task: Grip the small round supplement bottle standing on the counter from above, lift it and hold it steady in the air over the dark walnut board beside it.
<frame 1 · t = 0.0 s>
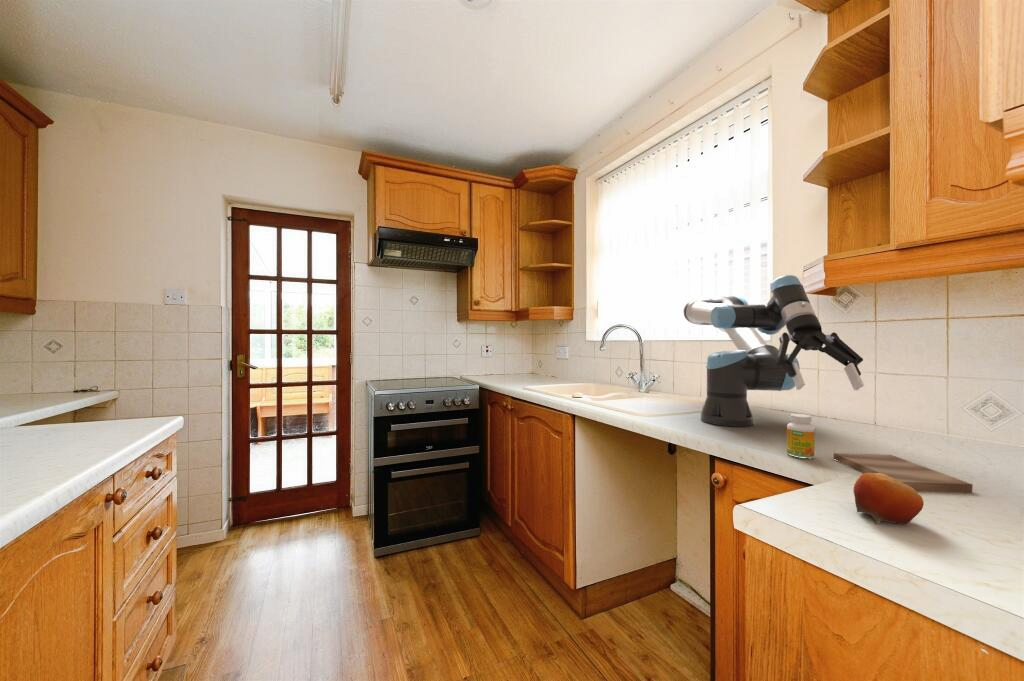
hand: (829, 387, 102), 15 cm above the table, tool tilted 35°, fingers open, 13 cm apart
fruit: (885, 520, 63), on the table
supplement bottle: (800, 456, 95), on the table
walnut board: (894, 474, 83), on the table
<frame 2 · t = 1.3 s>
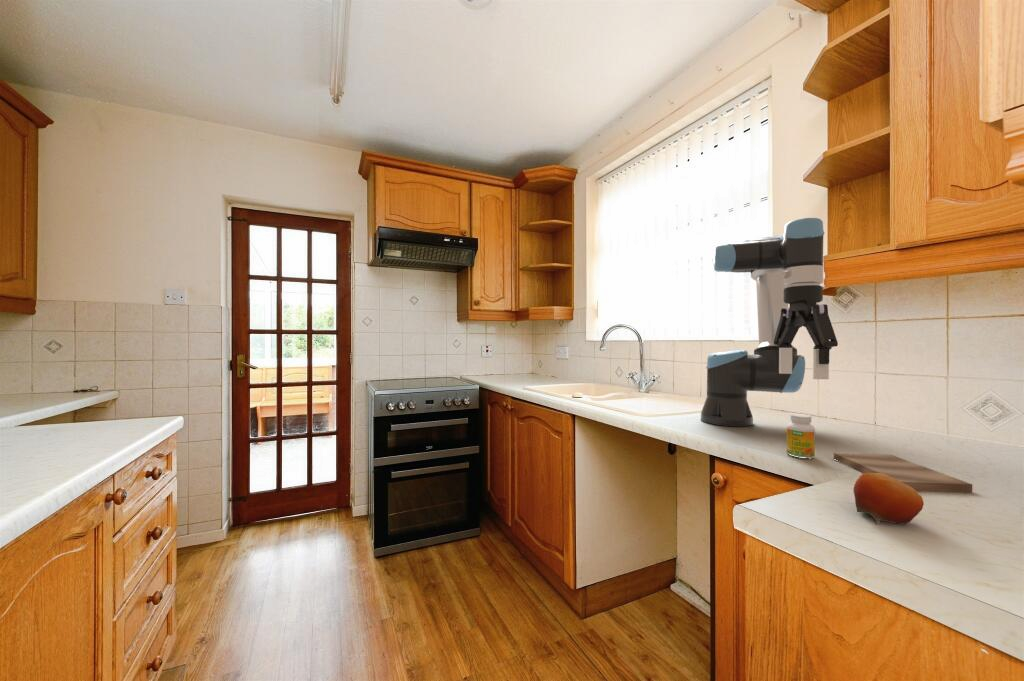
hand: (801, 376, 95), 19 cm above the table, tool pointing down, fingers open, 13 cm apart
nothing on the table moved.
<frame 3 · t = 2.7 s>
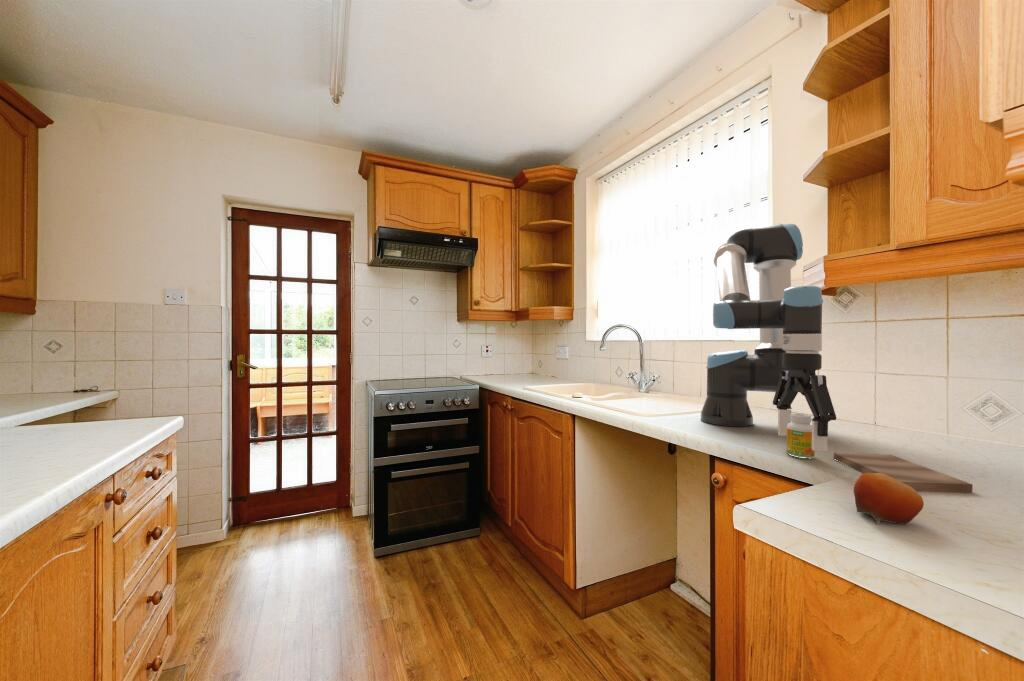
hand: (800, 442, 95), 3 cm above the table, tool pointing down, fingers open, 13 cm apart
nothing on the table moved.
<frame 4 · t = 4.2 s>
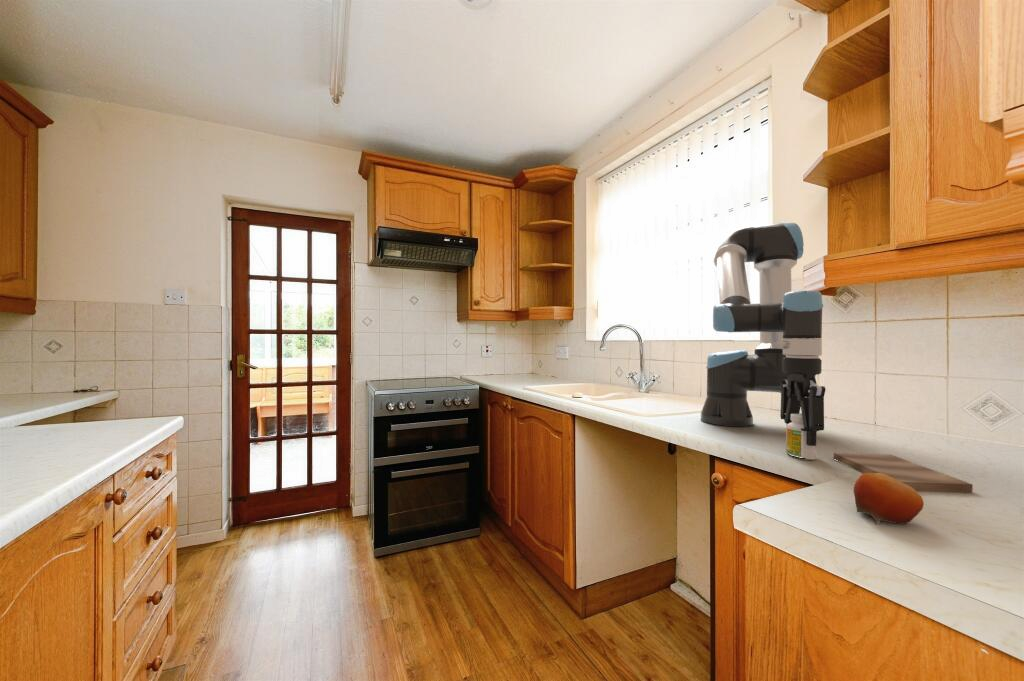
hand: (800, 454, 95), 0 cm above the table, tool pointing down, fingers closed on supplement bottle, 5 cm apart
supplement bottle: (800, 456, 95), on the table, touching gripper
everything else where it was.
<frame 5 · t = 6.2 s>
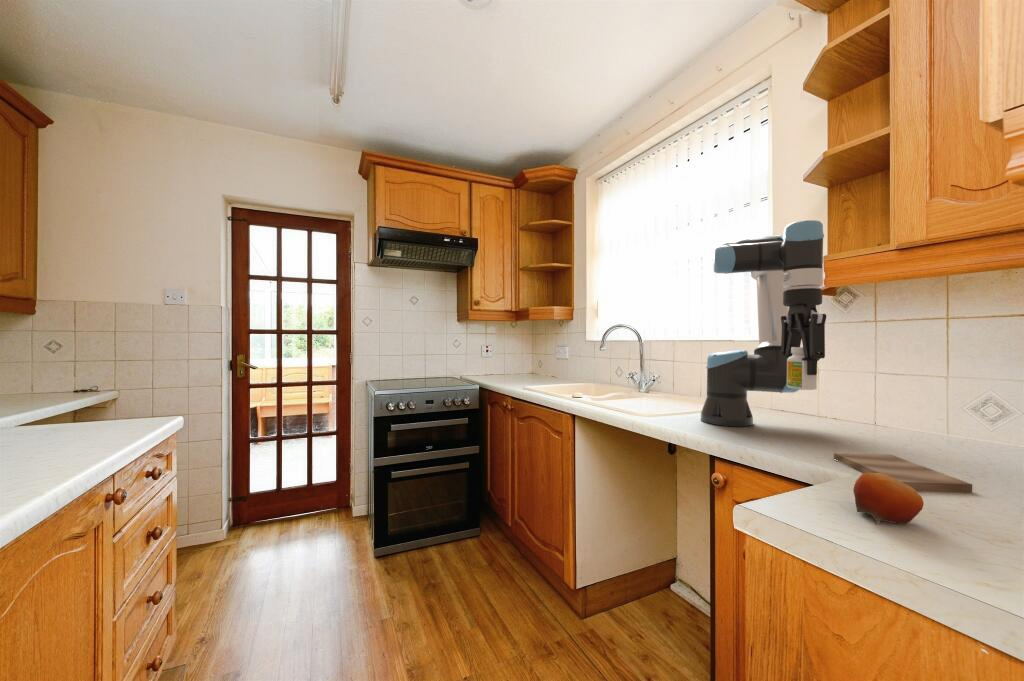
hand: (801, 387, 95), 16 cm above the table, tool pointing down, fingers closed on supplement bottle, 5 cm apart
supplement bottle: (800, 389, 95), point 16 cm above the table, touching gripper
everything else where it was.
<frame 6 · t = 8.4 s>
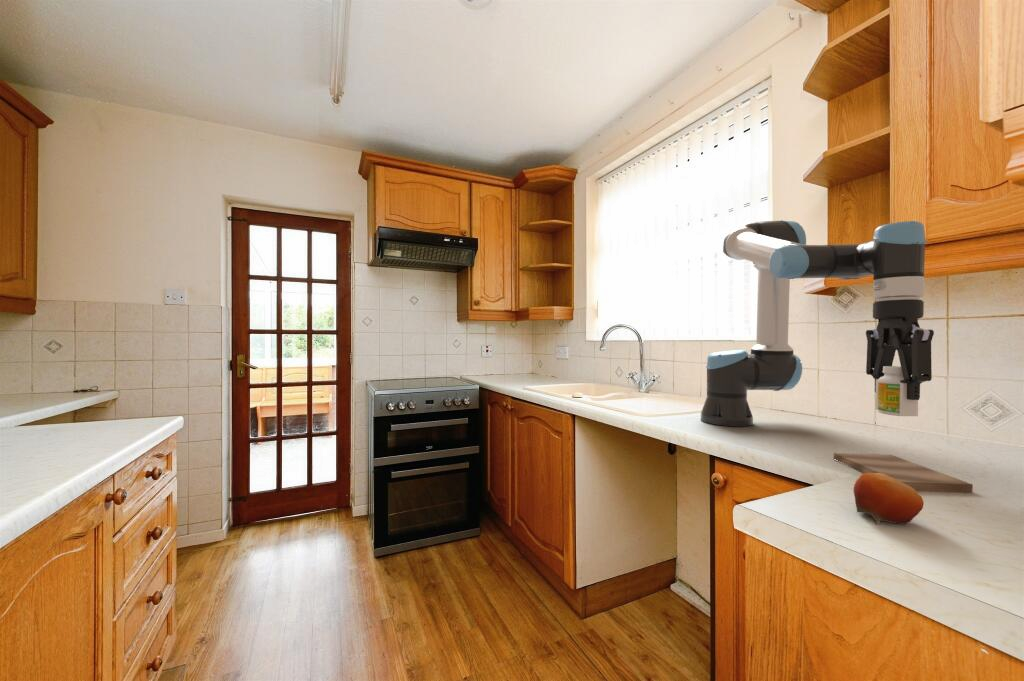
hand: (895, 412, 83), 13 cm above the table, tool pointing down, fingers closed on supplement bottle, 5 cm apart
supplement bottle: (895, 415, 83), point 12 cm above the table, touching gripper
everything else where it was.
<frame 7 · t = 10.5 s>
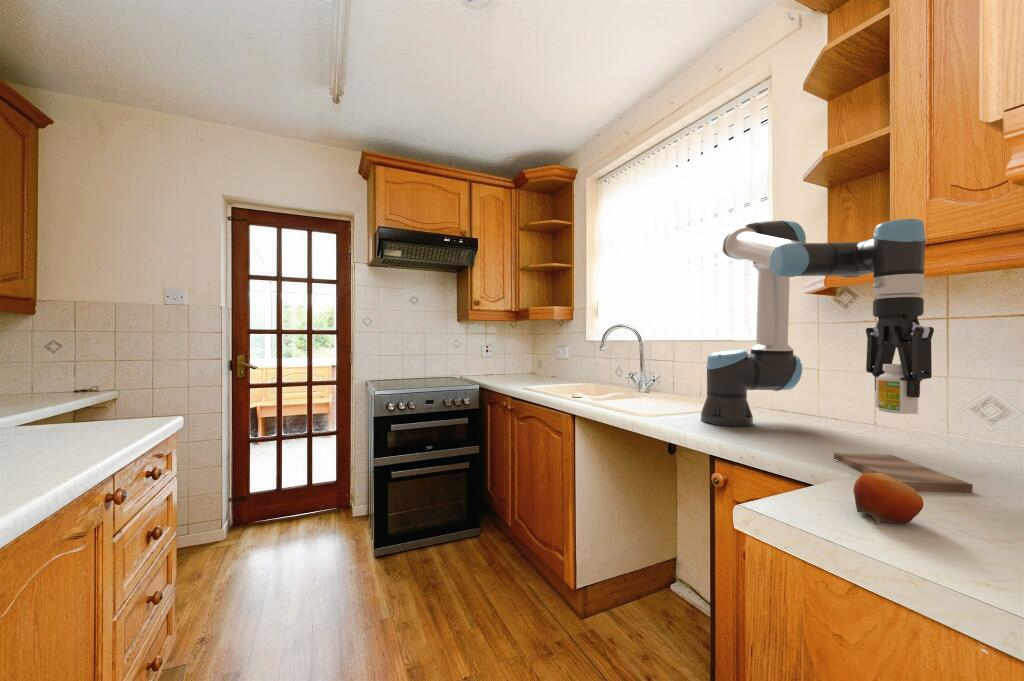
hand: (895, 410, 83), 13 cm above the table, tool pointing down, fingers closed on supplement bottle, 5 cm apart
supplement bottle: (895, 412, 83), point 13 cm above the table, touching gripper
everything else where it was.
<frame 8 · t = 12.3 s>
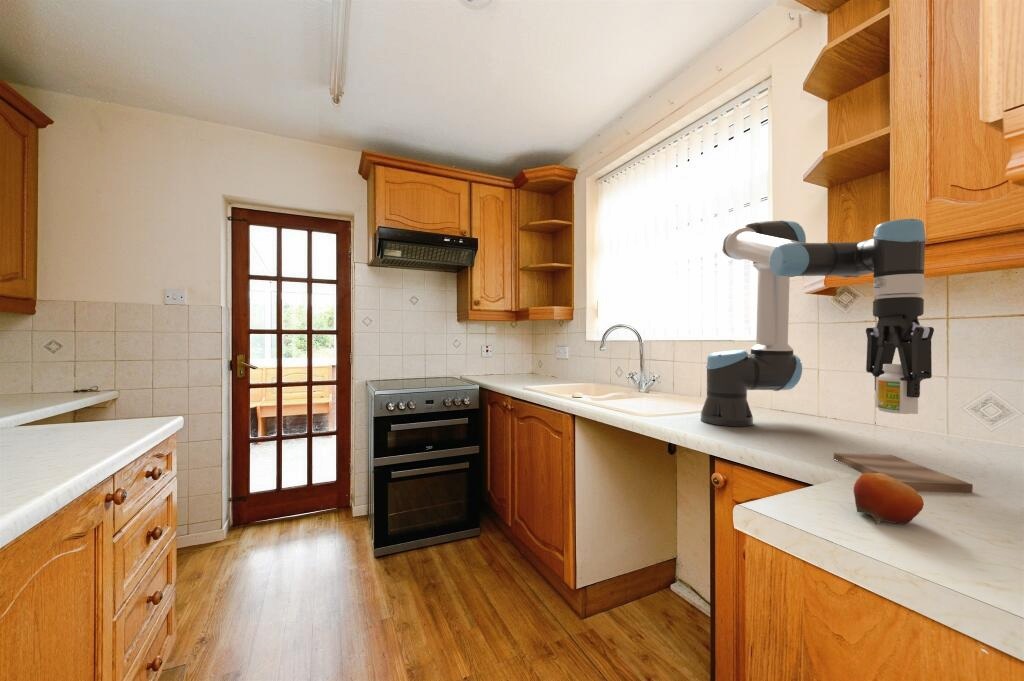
hand: (895, 410, 83), 13 cm above the table, tool pointing down, fingers closed on supplement bottle, 5 cm apart
supplement bottle: (895, 412, 83), point 13 cm above the table, touching gripper
everything else where it was.
at the end: the gripper is holding supplement bottle; supplement bottle point 12.7 cm above the table; supplement bottle 0.1 cm from the walnut board (horizontally) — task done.
